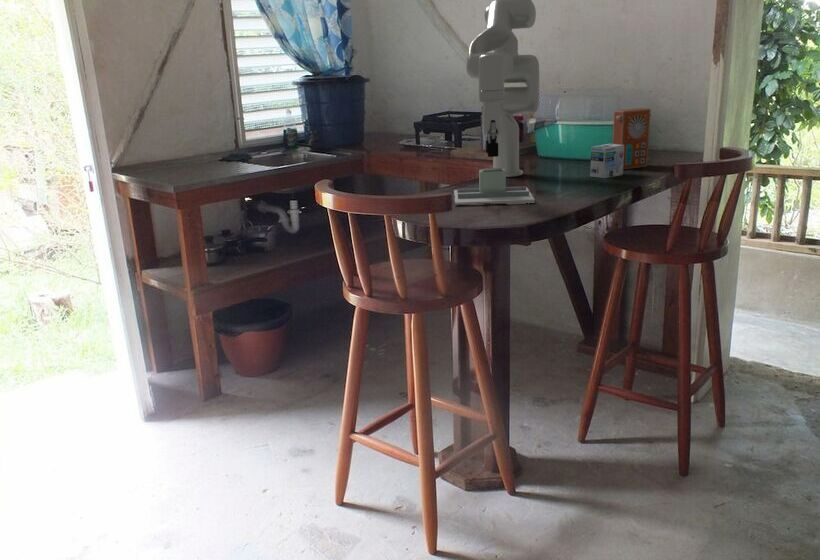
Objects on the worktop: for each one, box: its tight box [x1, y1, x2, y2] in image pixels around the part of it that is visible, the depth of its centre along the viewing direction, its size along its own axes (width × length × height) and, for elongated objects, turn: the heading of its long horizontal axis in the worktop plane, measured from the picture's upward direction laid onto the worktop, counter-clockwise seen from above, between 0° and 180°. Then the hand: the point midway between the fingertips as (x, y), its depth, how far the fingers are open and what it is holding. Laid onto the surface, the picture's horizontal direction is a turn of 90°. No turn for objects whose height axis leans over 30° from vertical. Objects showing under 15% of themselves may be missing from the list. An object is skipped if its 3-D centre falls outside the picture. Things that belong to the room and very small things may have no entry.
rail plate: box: [453, 185, 536, 205], centre depth 219 cm, size 20×24×3 cm
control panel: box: [612, 107, 652, 170], centre depth 259 cm, size 21×7×15 cm
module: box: [478, 167, 507, 193], centre depth 218 cm, size 5×8×7 cm, turn 87°
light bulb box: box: [589, 143, 624, 179], centre depth 246 cm, size 11×7×11 cm, turn 126°
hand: (492, 154), depth 215 cm, fingers open, 7 cm apart
